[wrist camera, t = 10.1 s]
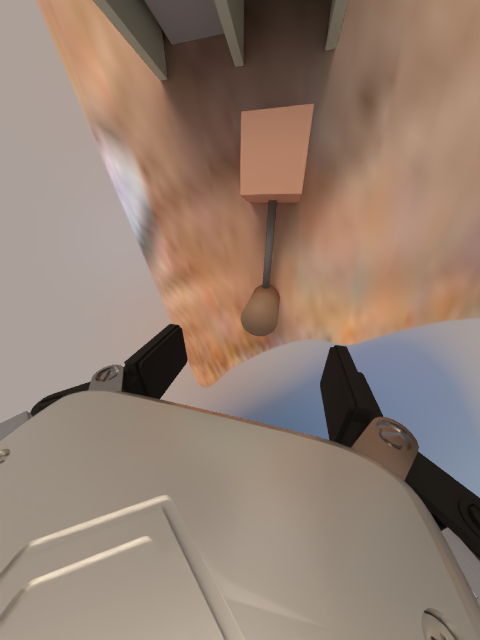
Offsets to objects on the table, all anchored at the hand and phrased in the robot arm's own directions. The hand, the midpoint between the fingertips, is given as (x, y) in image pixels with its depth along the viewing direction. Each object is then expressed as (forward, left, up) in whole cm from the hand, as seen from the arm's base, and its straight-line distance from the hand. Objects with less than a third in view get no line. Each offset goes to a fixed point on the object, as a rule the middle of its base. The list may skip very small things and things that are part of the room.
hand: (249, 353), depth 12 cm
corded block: (0, -6, -14) cm, 15 cm away
